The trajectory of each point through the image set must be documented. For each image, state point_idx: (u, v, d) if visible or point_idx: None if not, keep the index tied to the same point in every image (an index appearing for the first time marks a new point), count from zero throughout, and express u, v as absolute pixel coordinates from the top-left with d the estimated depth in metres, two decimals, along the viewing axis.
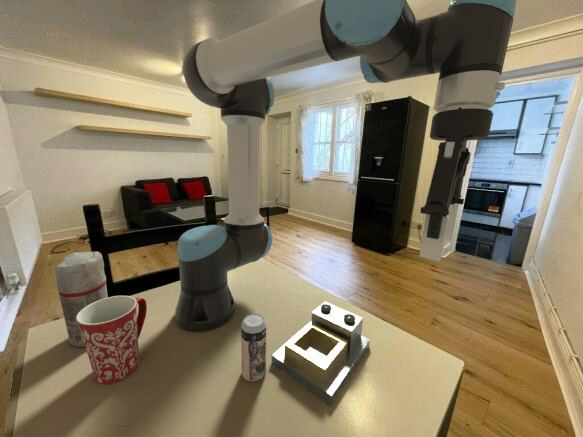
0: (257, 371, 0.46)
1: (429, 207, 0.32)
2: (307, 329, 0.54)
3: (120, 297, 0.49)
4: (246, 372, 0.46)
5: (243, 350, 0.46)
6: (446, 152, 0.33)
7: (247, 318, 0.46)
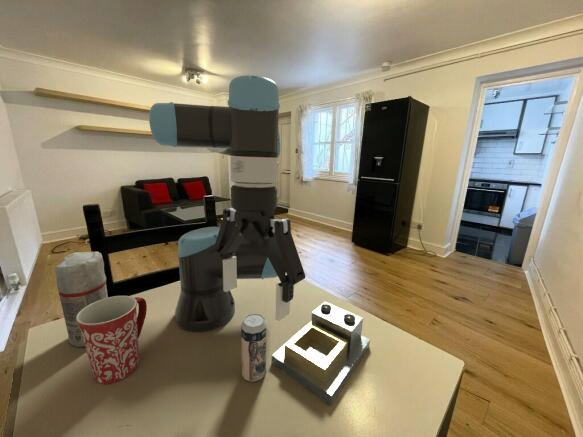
0: (257, 371, 0.46)
1: None
2: (307, 329, 0.54)
3: (120, 297, 0.49)
4: (246, 372, 0.46)
5: (243, 350, 0.46)
6: None
7: (247, 318, 0.46)
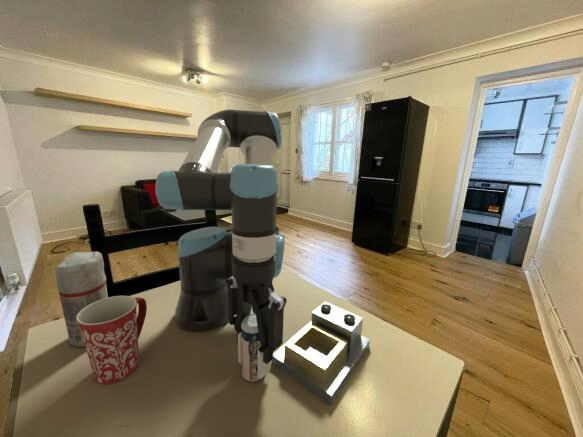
0: (257, 371, 0.46)
1: None
2: (307, 329, 0.54)
3: (120, 297, 0.49)
4: (246, 372, 0.46)
5: (243, 350, 0.46)
6: None
7: (247, 318, 0.46)
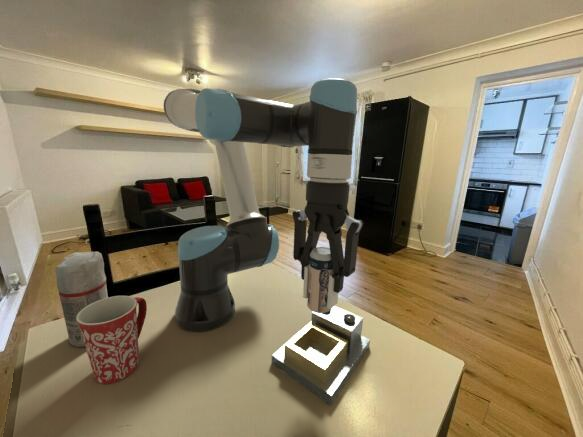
0: (326, 302, 0.46)
1: None
2: (307, 329, 0.54)
3: (120, 297, 0.49)
4: (315, 303, 0.46)
5: (312, 280, 0.45)
6: None
7: (315, 249, 0.46)
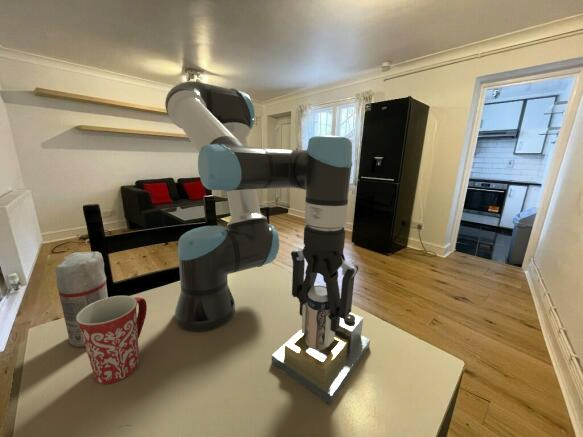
0: (323, 340, 0.48)
1: None
2: None
3: (120, 297, 0.49)
4: (313, 341, 0.48)
5: (310, 319, 0.47)
6: None
7: (313, 289, 0.48)
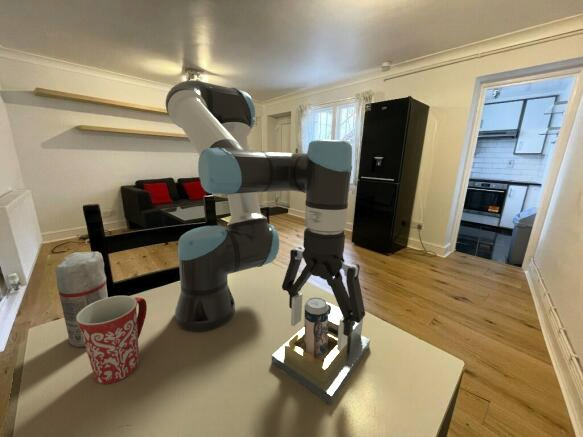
0: (321, 351, 0.48)
1: None
2: None
3: (120, 297, 0.49)
4: (311, 352, 0.48)
5: (307, 331, 0.48)
6: None
7: (309, 301, 0.49)
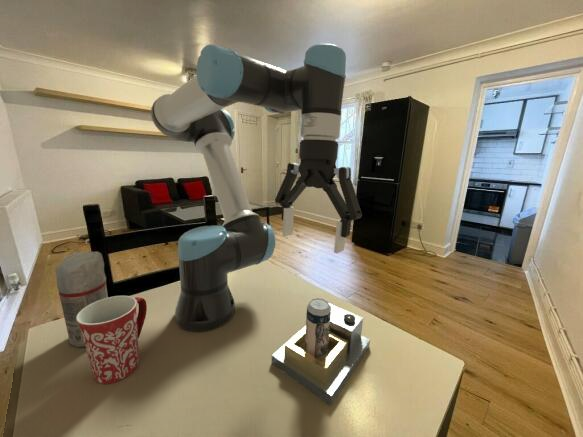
0: (322, 352, 0.48)
1: None
2: None
3: (120, 297, 0.49)
4: (311, 353, 0.48)
5: (309, 332, 0.48)
6: None
7: (312, 302, 0.49)
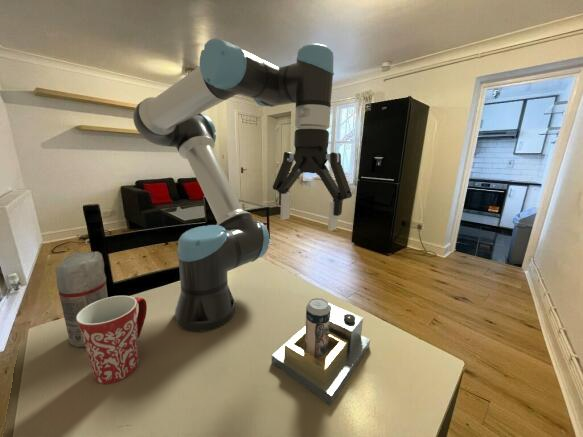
0: (321, 352, 0.48)
1: None
2: None
3: (120, 297, 0.49)
4: (311, 353, 0.48)
5: (309, 332, 0.48)
6: None
7: (311, 302, 0.49)
